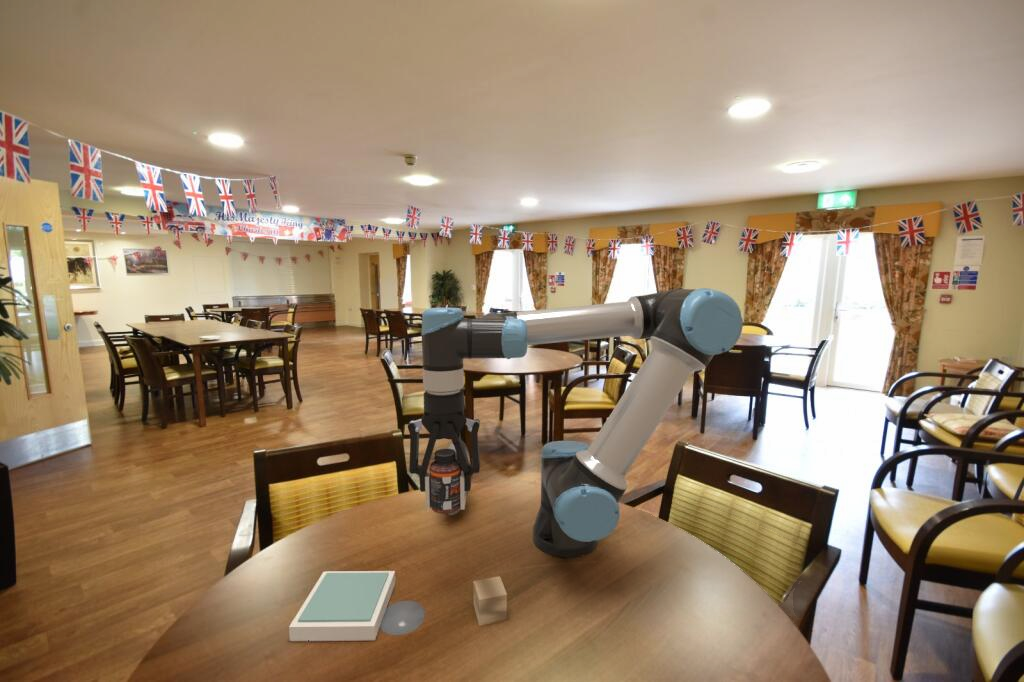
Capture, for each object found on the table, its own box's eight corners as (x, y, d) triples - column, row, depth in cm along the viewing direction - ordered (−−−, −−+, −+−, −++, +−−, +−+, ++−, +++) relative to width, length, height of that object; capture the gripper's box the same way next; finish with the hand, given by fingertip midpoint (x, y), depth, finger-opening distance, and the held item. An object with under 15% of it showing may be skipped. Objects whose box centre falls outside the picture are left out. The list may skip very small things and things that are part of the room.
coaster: (428, 604, 81) (428, 600, 81) (420, 638, 73) (420, 634, 73) (385, 604, 81) (385, 600, 81) (373, 639, 73) (373, 635, 73)
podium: (395, 583, 86) (395, 569, 85) (374, 640, 72) (374, 623, 72) (324, 583, 85) (323, 569, 85) (289, 641, 72) (288, 624, 71)
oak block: (499, 600, 81) (499, 576, 81) (506, 620, 77) (507, 594, 76) (473, 605, 80) (473, 581, 79) (479, 626, 75) (479, 600, 75)
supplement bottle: (455, 517, 81) (454, 459, 79) (425, 513, 82) (424, 456, 80) (465, 501, 86) (464, 447, 85) (437, 498, 88) (435, 445, 86)
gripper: (494, 385, 85) (495, 496, 88) (397, 385, 85) (401, 497, 88) (493, 394, 78) (494, 515, 81) (387, 395, 77) (392, 516, 80)
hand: (446, 505), depth 84 cm, fingers closed on supplement bottle, 6 cm apart
